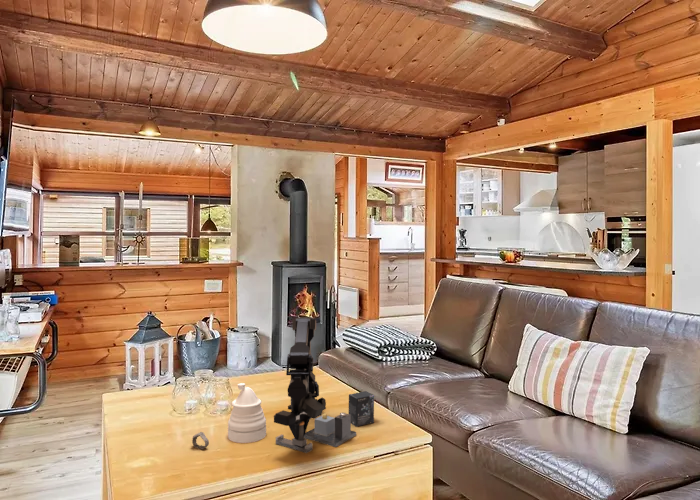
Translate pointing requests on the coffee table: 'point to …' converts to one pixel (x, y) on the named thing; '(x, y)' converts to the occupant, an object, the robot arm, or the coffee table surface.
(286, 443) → the lever rail
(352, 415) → the box
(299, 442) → the lever
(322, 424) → the block
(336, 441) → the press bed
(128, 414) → the coffee table surface
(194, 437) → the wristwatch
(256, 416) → the honey pot
